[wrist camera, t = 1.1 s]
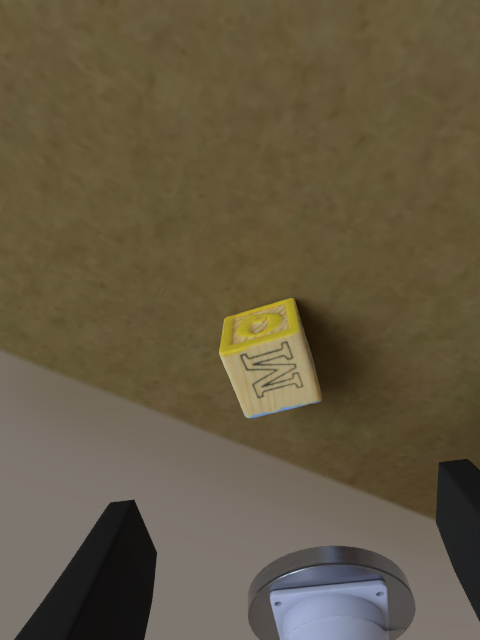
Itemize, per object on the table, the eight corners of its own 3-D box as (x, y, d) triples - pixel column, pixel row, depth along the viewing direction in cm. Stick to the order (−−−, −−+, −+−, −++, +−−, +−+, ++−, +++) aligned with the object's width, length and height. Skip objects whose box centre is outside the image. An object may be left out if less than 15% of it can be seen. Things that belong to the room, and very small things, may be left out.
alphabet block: (245, 376, 18) (246, 422, 16) (221, 316, 17) (217, 355, 14) (312, 357, 18) (325, 402, 15) (293, 294, 16) (303, 331, 14)
